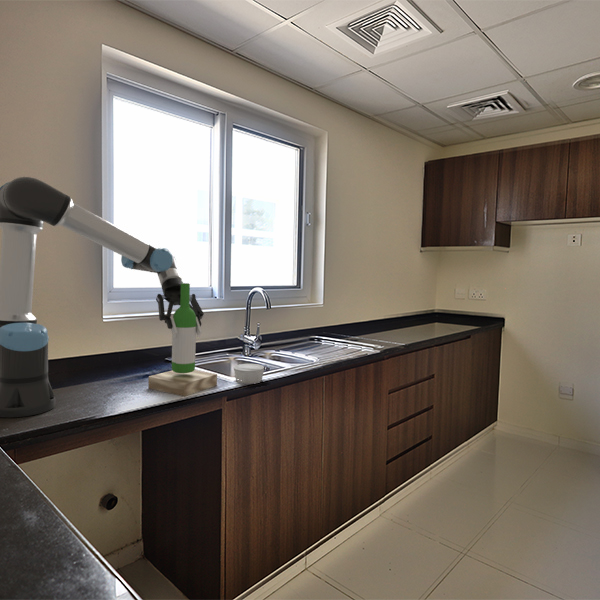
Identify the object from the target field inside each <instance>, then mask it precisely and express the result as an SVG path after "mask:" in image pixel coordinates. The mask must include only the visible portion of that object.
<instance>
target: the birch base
mask: <svg viewBox="0 0 600 600" xmlns="http://www.w3.org/2000/svg"><path fill="white" fill-rule="evenodd" d="M217 386H218V374H217V373H212V372H207V371H202V370H198V369H194V371H192V372H190V373H176V372H174V371H173V370H172V369H171V370H169V371H165V372H161V373H157V374H152V375H149V376H148V389H150V390H151V389H152V390H153V391H154V390H155V391H158V392H164V393H167V394H171V395H175V396H176V395H177V396H180V397H186V396H189V395H192V394H195V393H199V392H201V391H204V390H208V389H211V388H213V387H217Z"/></svg>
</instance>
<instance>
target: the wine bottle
mask: <svg viewBox="0 0 600 600" xmlns="http://www.w3.org/2000/svg"><path fill="white" fill-rule="evenodd" d="M190 285H191V283H188V282H187V283H186V282H183V283H181V298H180V305H179V307H178V308H177V309H176V310H175V311H174V313H173V315H172V317H173V318H174V322H175V325H176V328H177V332H178V334H177V336H176V338H173V335H172V336H171V337H172V338H171V340H172V341H171V371H172V370H173V371H174V372H176V373H190V372H192V371H194V370H196V343H197V342H196V341H197V339H196V338H197V334H196V315H195V312H194V311H193V310H192V309H191V308H190V306H189V304H190V302H189V301H190V295H191V294H190V291H191V290H190V289H191V288H190V287H191V286H190Z"/></svg>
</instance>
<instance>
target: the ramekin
mask: <svg viewBox="0 0 600 600" xmlns="http://www.w3.org/2000/svg"><path fill="white" fill-rule="evenodd" d="M233 371H234V377H235V380H236V382H237V383H239V384H245V385H253V384H254V385H255V384H258V383H260V382H262V380H263V375H264V371H265V366H264V365H262V364H257V363H240V364H236V365H234V366H233ZM237 379H239V380H237ZM240 380H242V381H240Z"/></svg>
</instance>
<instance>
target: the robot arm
mask: <svg viewBox="0 0 600 600" xmlns="http://www.w3.org/2000/svg"><path fill="white" fill-rule="evenodd" d="M44 223H47V224H48V225H51V226H53V227H59V226H61V227H63V228H65V229H66V230H69V231H71V232H73V233H75V234H77V235H79V236H81V237H83V238H85V239H86V240H90V241H92V242H93V243H95V244H97V245H100V246H102V247H104V248H105V249H108V250H109V251H112V252H114V253H116V254H118V255H121V261H120V262H121V264H122V265H121V266H122V267H124V268H126V269H130V270H134V271H135V270H137V271H143V272H149V273H155V274H157V276H158V280H159V283H160V286H161V290H162V293H163V294H161V293H157V295H156V299H155V300H156V303H157V307H158V317H159V321H161V322H163V321H164V323H165V324H166V327H167V328H168V329H169V330H171V331H170V332H171V334H172V335H173V338H176V336H177V334H178V332H177V328H176V325H175V322H174V318H173V316H172V313H173V312H172V311H173V308H174V307H175V306H180V298H181V283H184V282H183V280H182V276H181V273H180V270H179V268H178V267H179V266H178V264H177V260H176V258H175V256H174V253H173V251H172V250H170V248H167V247H162V248H161V247H160V248H159V247H156V246H154V245H153V244H150V243H149V242H147V241H145V240H143V239H142V238H140V237H138V236H136V235H134V234H132V233H131V232H129V231H126V230H125V229H123V228H121V227H119V226H117V225H115V224H114V223H112V222H110V221H108V220H106V219H104V218H103V217H101V216H99V215H97V214H95V213H93V212H92V211H89V210H88V209H86V208H85V207H82V206H81V205H79V204H77V203H74V202H73V199H72V197H71V196H69V195H67V194H66V193H63V192H62V191H60V190H58V189H56V188H55V187H53V186H51V185H50V184H48V183H46V182H45V181H42V180H40V179H38V178H35V177H31V176H21V177H20V176H19V177H17V178H14V179H13V180H11V181H8V182H6V183H4V184H3V185H1V186H0V229H1V233H2V235H1V246H0V247H1V249H0V418H10V419H11V418H22V417H23V418H24V417H30V416H34V415H38V414H43V413H46V412H49V411H50V410H52V409H54V408H55V407H56V396H55V393H54V391H53V388H52V386H51V383H50V380H49V341H50V340H49V339H50V338H49V333H48V329H47V328H46V326H44V325H43V324H40V323H38V318H37V317H36V316H35V315H34V314H33V313H32V309H33V297H34V296H33V295H34V281H35V266H36V263H35V262H36V249H37V237H38V236H37V235H38V234H39V233H41V231H43V229H44ZM196 297H197V296H196V294H195V293H192V294H190V301H189V306H190V308H191V309H192V310H193V311H194V312H195V315H196V338H197V337H200V336H201V335H202V332H203V330H202V328H201V326H202V321H201V320H202V319H203V317H204V314H205V313H204V312H203V310H202V308H201V306H200V304H199V303H198V300H197V298H196ZM164 300H165V301H167V303H168V305H167V311H166V313H165V304H164Z"/></svg>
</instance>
